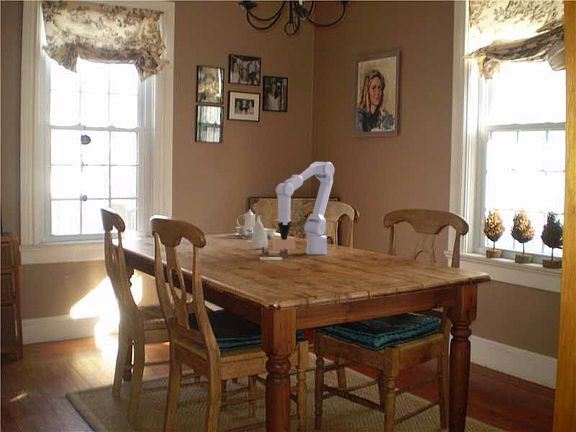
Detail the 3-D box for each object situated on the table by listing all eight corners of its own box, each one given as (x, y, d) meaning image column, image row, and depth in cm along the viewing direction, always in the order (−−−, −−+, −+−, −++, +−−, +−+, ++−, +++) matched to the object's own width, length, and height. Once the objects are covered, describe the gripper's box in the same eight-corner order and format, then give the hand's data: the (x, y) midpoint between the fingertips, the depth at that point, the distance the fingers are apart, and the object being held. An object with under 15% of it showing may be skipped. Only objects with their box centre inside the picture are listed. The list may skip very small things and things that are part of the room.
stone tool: (252, 250, 339) (252, 219, 338) (250, 249, 342) (250, 219, 341) (268, 249, 342) (269, 219, 341) (266, 248, 345) (267, 218, 344)
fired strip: (282, 259, 314) (282, 257, 314) (282, 261, 310) (282, 258, 310) (260, 259, 314) (260, 256, 314) (259, 260, 311) (259, 258, 311)
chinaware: (281, 240, 389) (282, 211, 389) (268, 241, 373) (269, 210, 373) (237, 237, 400) (238, 209, 400) (222, 237, 385) (224, 208, 385)
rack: (286, 254, 327) (286, 247, 327) (287, 257, 318) (288, 250, 318) (261, 254, 326) (261, 247, 326) (261, 257, 317) (261, 249, 317)
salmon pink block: (294, 247, 321) (294, 236, 320) (295, 248, 317) (295, 237, 317) (273, 248, 320) (272, 237, 319) (273, 249, 316) (273, 238, 316)
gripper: (274, 208, 324) (274, 236, 325) (276, 210, 309) (276, 240, 310) (289, 208, 324) (289, 237, 325) (292, 211, 310) (291, 241, 311)
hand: (283, 238), depth 318 cm, fingers closed on salmon pink block, 3 cm apart
